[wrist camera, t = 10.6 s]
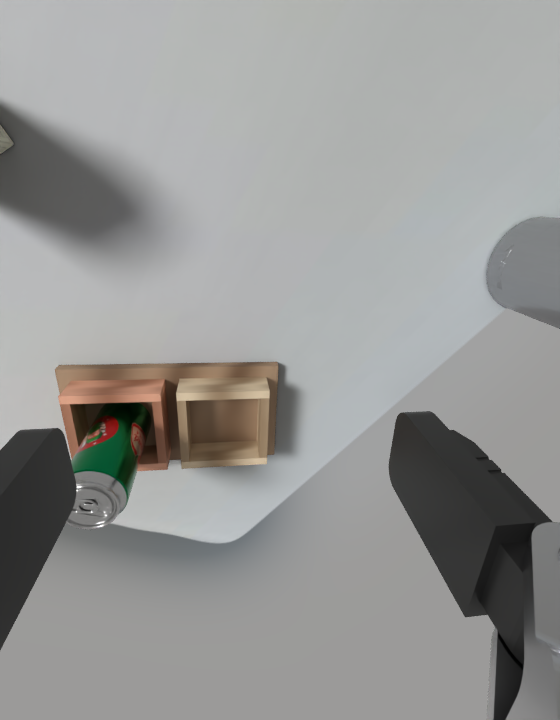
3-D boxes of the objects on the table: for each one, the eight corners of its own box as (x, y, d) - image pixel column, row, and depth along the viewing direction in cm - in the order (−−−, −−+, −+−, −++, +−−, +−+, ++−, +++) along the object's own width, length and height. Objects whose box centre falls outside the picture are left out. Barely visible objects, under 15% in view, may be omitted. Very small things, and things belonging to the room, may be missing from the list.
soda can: (150, 440, 39) (122, 535, 28) (98, 435, 38) (48, 531, 27) (154, 398, 37) (127, 482, 26) (100, 392, 36) (48, 477, 25)
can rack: (277, 362, 39) (282, 379, 35) (272, 448, 43) (277, 472, 39) (59, 365, 35) (40, 384, 32) (78, 458, 40) (64, 485, 36)
